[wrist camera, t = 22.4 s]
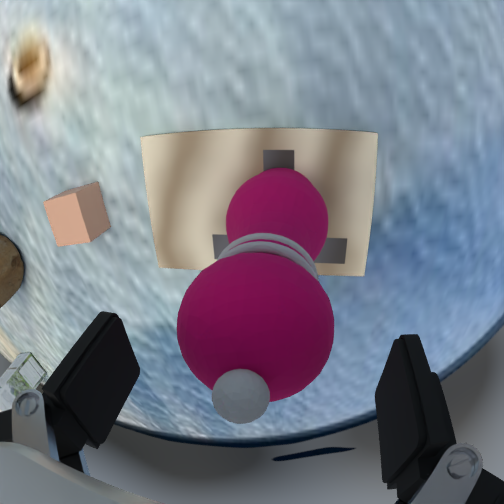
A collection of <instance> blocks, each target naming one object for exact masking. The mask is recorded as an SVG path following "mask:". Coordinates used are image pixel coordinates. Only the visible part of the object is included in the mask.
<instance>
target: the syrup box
mask: <svg viewBox="0 0 504 504" xmlns="http://www.w3.org/2000/svg"><path fill="white" fill-rule="evenodd" d="M46 374H47V373H46V372H45V371H44V369H43V368H42V367H41V366H40V364H39V363H38V362H37V361H36V359H35V358H34V357H33V355H32V354H31V353H21V354H19V355H18V356H17V358H16V359H15V360H14V361H13V363H12V364H11V365H10V366H9V368H8V369H7V370H6V371H5V372H4V374H3V375H2V376H1V377H0V412H2V411H6V410H9V409H12V403H13V401H14V399H15V398H16V396H17V395H18V394H19V393H21V392H22V391H24V390H27V389H36V388H37V386H38V385H39V384H40V382H41V381H42V379H43V378H44V377H45V375H46Z"/></svg>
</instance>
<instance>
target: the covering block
mask: <svg viewBox="0 0 504 504" xmlns="http://www.w3.org/2000/svg"><path fill="white" fill-rule="evenodd" d="M43 203H44V206H45V209H46V212H47V216H48V219H49V222H50V225H51V228H52V231H53V234H54V237H55V240H56V242H57V245H58V246H65V245H73V244H80V243H87V242H91V241H93V240H94V239H95V238H97V237H98V236H99V235H101V234H102V233H103V232H105V231H106V230H107V229H109V228H110V227H111V226H110V222H109V219H108V216H107V212H106V209H105V205H104V202H103V198H102V194H101V191H100V187H99V183H98V182H95V183H91V184H88V185H84V186H80V187H77V188H73V189H70V190H66V191H64V192H62V193H60V194H58V195H56V196H54V197H52V198H50V199H48V200H46V201H44V202H43Z"/></svg>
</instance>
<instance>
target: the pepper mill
mask: <svg viewBox="0 0 504 504" xmlns="http://www.w3.org/2000/svg"><path fill="white" fill-rule="evenodd" d="M226 232H227V237H228V241H229V245H228V246H227V247H226V248H225V249H224V250H223V251H222V253H221V254H220V255H219V257H218V259H217V261H216V262H214V263H213V264H211V265H210V266H208V267H207V268H205V269H203V270H202V271H201V272H200V274H199V275H198V276H197V277H196V278H195V280H194V281H193V282H192V283H191V285H190V286H189V288H188V289H187V290H186V293H185V295H184V297H183V300H182V303H181V306H180V309H179V312H178V318H177V339H178V343H179V346H180V350H181V353H182V356H183V358H184V360H185V362H186V364H187V365H188V367H189V368H190V370H191V371H192V372H193V374H194V375H195V376H196V377H197V378H198V379H199V380H200V381H201V382H202V383H204V384H205V385H206V386H207V387H208V388H210V389H211V390H213V391H212V402H213V405H214V408H215V409H216V411H217V412H218V414H219V415H220V416H221V417H223V418H224V419H226V420H227V421H229V422H233V423H237V424H243V423H250V422H252V421H254V420H256V419H258V418H259V417H261V416H262V415H263V414H264V412H265V411H266V409H267V407H268V404H269V402H272V401H277V400H280V399H283V398H287V397H290V396H292V395H294V394H296V393H298V392H300V391H301V390H303V389H304V388H305V387H306V386H307V385H309V384H310V383H311V382H312V381H313V380H314V379H315V378H316V377H317V376H318V375H319V374H320V372H321V371H322V369H323V367H324V365H325V364H326V362H327V360H328V358H329V355H330V351H331V348H332V344H333V338H334V316H333V311H332V307H331V304H330V300H329V297H328V296H327V294H326V293H325V291H324V290H323V288H322V286H321V285H320V283H319V282H318V273H317V269H316V266H315V264H314V262H313V261H314V260H315V259H316V258H317V256H318V255H319V253H320V252H321V250H322V248H323V246H324V244H325V241H326V238H327V233H328V211H327V207H326V204H325V202H324V200H323V198H322V196H321V194H320V193H319V192H318V190H317V189H316V188H315V187H314V186H313V185H312V183H311V182H310V181H309V180H308V179H307V178H306V177H305V176H304V175H302V174H301V173H299V172H297V171H295V170H292V169H288V168H272V169H269V170H266V171H263V172H262V173H260V174H258V175H256V176H254V177H252V178H250V179H249V180H247V181H246V182H245V183H243V184H242V185H241V186H240V187H239V188H238V190H237V191H236V192H235V194H234V196H233V197H232V199H231V202H230V204H229V207H228V210H227V214H226Z"/></svg>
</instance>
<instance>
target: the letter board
mask: <svg viewBox="0 0 504 504" xmlns="http://www.w3.org/2000/svg"><path fill="white" fill-rule="evenodd" d="M140 138H141V148H142V158H143V167H144V175H145V183H146V191H147V198H148V205H149V212H150V219H151V225H152V231H153V237H154V243H155V249H156V254H157V260H158V265H159V268H176V269H194V270H203V269H205V268H207V267H208V266H210V265H211V264H213V263H214V262H216V261H217V259H218V257H219V255H220V254H221V253H222V251H223V250H224V249H225V248H226V247H227V246H228V245H229V241H228V237H227V232H226V214H227V210H228V207H229V204H230V202H231V199H232V197H233V196H234V194H235V192H236V191H237V190H238V188H239V187H240V186H241V185H242V184H243V183H245V182H246V181H247V180H249V179H250V178H252V177H254V176H256V175H258V174H260V173H262V172H263V171H266V170H269V169H272V168H288V169H292V170H295V171H297V172H299V173H301V174H302V175H304V176H305V177H306V178H307V179H308V180H309V181H310V182H311V183H312V185H313V186H314V187H315V188H316V189H317V190H318V192H319V193H320V194H321V196H322V198H323V200H324V202H325V204H326V207H327V211H328V233H327V238H326V241H325V244H324V246H323V248H322V250H321V252H320V253H319V255H318V256H317V258H316V259H315V260H314V261H313V262H314V264H315V266H316V269H317V273H318V275H336V276H364V273H365V266H366V260H367V253H368V245H369V238H370V230H371V221H372V212H373V202H374V191H375V178H376V163H377V143H378V133H376V132H365V131H352V130H336V129H314V128H241V129H218V130H202V131H189V132H178V133H168V134H158V135H150V136H143V137H140Z"/></svg>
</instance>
